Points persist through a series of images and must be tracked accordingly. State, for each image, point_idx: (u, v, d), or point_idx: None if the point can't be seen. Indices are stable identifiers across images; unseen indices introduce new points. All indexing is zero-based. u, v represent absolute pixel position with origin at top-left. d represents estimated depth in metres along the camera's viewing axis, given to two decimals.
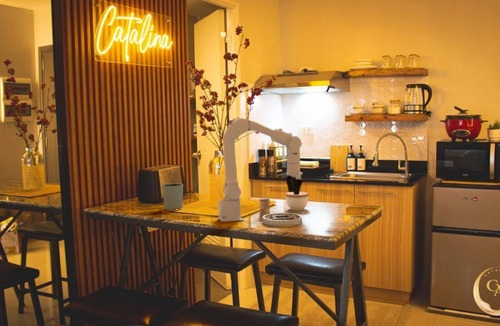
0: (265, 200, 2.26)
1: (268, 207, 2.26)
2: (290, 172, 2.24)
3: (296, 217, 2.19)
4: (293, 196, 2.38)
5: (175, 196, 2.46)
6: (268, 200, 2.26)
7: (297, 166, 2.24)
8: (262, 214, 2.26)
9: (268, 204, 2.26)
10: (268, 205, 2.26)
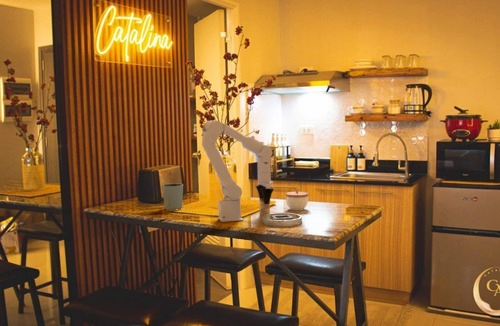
0: None
1: (268, 207, 2.26)
2: (260, 181, 2.24)
3: (296, 217, 2.19)
4: (293, 196, 2.38)
5: (175, 196, 2.46)
6: None
7: (267, 175, 2.23)
8: (262, 214, 2.26)
9: (268, 204, 2.26)
10: (268, 205, 2.26)
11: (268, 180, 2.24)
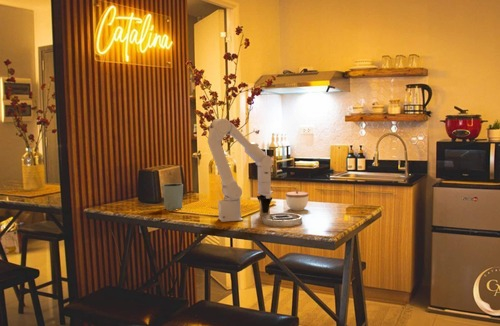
0: None
1: None
2: (261, 191, 2.24)
3: (296, 217, 2.19)
4: (293, 196, 2.38)
5: (175, 196, 2.46)
6: None
7: (267, 185, 2.24)
8: (262, 214, 2.26)
9: None
10: None
11: (268, 190, 2.24)
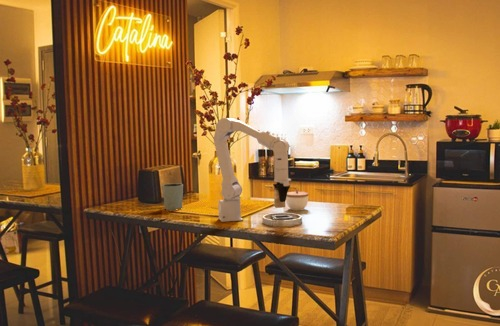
0: None
1: None
2: (278, 179, 2.11)
3: (296, 217, 2.19)
4: (293, 196, 2.38)
5: (175, 196, 2.46)
6: None
7: (285, 172, 2.11)
8: (277, 204, 2.13)
9: None
10: None
11: (286, 177, 2.11)
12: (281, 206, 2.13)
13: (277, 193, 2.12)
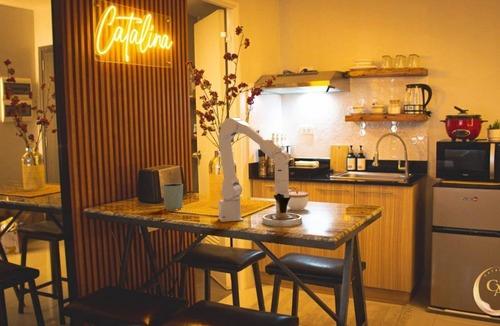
0: None
1: None
2: (278, 190, 2.11)
3: (296, 217, 2.19)
4: (293, 196, 2.38)
5: (175, 196, 2.46)
6: None
7: (285, 183, 2.11)
8: (279, 216, 2.13)
9: None
10: None
11: (286, 188, 2.11)
12: None
13: None
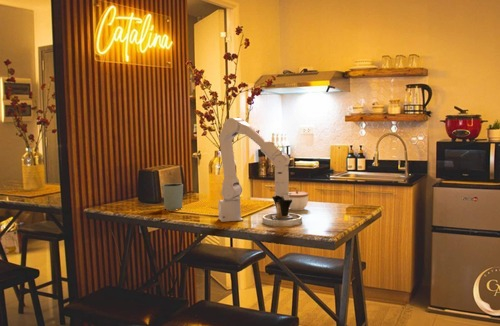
0: None
1: None
2: (278, 192, 2.11)
3: (296, 217, 2.19)
4: (293, 196, 2.38)
5: (175, 196, 2.46)
6: None
7: (285, 186, 2.11)
8: None
9: None
10: None
11: (286, 191, 2.11)
12: None
13: (279, 207, 2.13)
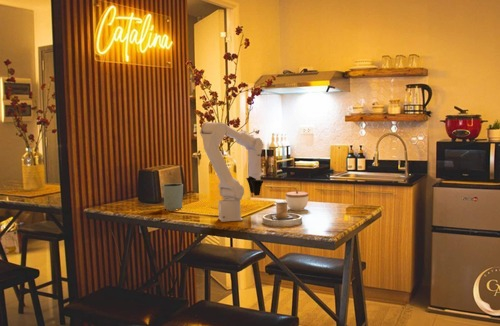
0: (282, 204, 2.13)
1: (286, 211, 2.13)
2: (251, 173, 2.28)
3: (296, 217, 2.19)
4: (293, 196, 2.38)
5: (175, 196, 2.46)
6: (286, 204, 2.13)
7: (257, 167, 2.28)
8: None
9: (286, 208, 2.13)
10: (286, 209, 2.13)
11: (258, 172, 2.28)
12: None
13: (279, 207, 2.13)
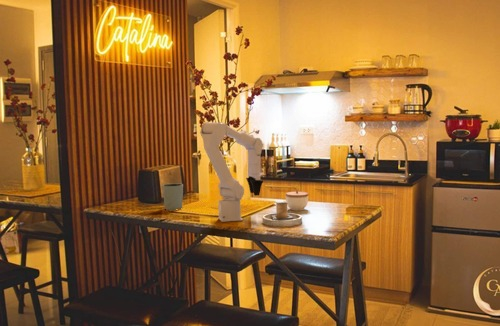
0: (282, 204, 2.13)
1: (286, 211, 2.13)
2: (251, 173, 2.28)
3: (296, 217, 2.19)
4: (293, 196, 2.38)
5: (175, 196, 2.46)
6: (286, 204, 2.13)
7: (257, 167, 2.28)
8: None
9: (286, 208, 2.13)
10: (286, 209, 2.13)
11: (258, 172, 2.29)
12: None
13: (279, 207, 2.13)
